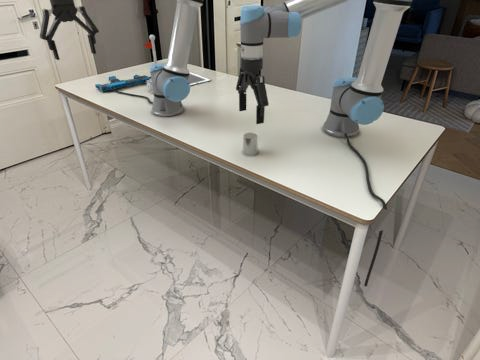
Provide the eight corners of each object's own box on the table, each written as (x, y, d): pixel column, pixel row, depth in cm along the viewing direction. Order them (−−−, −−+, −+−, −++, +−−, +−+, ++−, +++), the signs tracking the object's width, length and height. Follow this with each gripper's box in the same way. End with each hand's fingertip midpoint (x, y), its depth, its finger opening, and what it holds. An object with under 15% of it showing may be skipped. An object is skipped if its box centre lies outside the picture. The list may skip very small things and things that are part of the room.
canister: (255, 156, 131) (256, 139, 127) (242, 154, 132) (242, 137, 128) (258, 149, 135) (258, 133, 131) (244, 148, 136) (245, 131, 132)
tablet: (157, 75, 221) (157, 74, 221) (183, 69, 232) (183, 69, 232) (184, 87, 201) (183, 86, 200) (211, 80, 212) (211, 79, 211)
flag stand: (168, 85, 203) (161, 31, 187) (172, 92, 193) (166, 36, 177) (146, 88, 199) (137, 33, 183) (149, 95, 189) (140, 37, 173)
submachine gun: (140, 69, 223) (158, 75, 206) (141, 75, 225) (159, 81, 208) (87, 79, 204) (103, 87, 188) (89, 85, 206) (105, 94, 190)
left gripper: (22, -6, 107) (44, 63, 118) (99, -10, 121) (112, 52, 132) (16, -7, 111) (37, 60, 123) (91, -11, 125) (103, 49, 137)
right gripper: (226, 51, 122) (227, 107, 133) (260, 67, 103) (258, 131, 115) (244, 48, 125) (244, 104, 136) (281, 64, 106) (277, 127, 117)
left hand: (76, 56), depth 128 cm, fingers open, 13 cm apart
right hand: (251, 116), depth 125 cm, fingers open, 13 cm apart
